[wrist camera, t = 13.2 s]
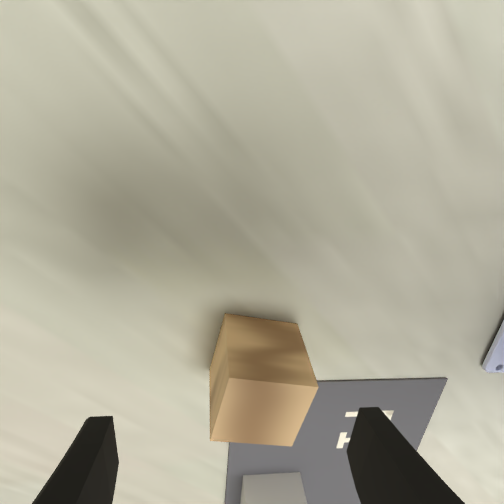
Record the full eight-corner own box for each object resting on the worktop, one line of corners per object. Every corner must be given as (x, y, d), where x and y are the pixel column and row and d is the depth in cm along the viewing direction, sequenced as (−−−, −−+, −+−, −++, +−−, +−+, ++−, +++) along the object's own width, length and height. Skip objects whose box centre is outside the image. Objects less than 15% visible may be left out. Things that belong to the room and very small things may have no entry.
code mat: (446, 377, 26) (447, 379, 26) (393, 501, 33) (394, 503, 33) (233, 383, 24) (234, 384, 24) (224, 513, 31) (224, 515, 31)
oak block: (297, 323, 23) (318, 387, 18) (276, 376, 25) (291, 446, 20) (224, 312, 22) (229, 377, 18) (209, 369, 24) (210, 440, 19)
